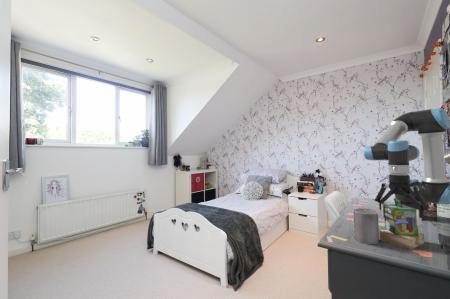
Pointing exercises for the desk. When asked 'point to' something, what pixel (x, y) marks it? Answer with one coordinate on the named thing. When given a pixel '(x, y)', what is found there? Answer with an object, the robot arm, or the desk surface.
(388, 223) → the chalk box
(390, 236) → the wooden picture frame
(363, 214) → the pillar candle
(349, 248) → the desk surface
